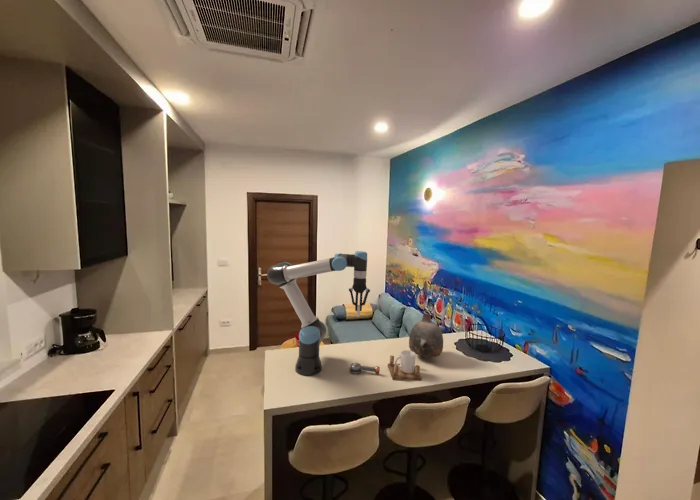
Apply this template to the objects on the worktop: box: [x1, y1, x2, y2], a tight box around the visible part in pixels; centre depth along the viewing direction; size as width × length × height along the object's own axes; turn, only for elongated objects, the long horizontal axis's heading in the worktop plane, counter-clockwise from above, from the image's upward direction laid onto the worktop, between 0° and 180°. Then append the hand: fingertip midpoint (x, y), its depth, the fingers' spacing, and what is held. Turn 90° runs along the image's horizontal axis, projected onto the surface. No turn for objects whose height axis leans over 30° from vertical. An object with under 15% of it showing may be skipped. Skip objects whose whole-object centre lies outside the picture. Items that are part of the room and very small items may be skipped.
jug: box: [408, 311, 444, 358], centre depth 197 cm, size 24×21×30 cm
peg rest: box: [387, 354, 422, 381], centre depth 176 cm, size 16×16×7 cm
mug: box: [394, 349, 416, 373], centre depth 176 cm, size 12×8×10 cm
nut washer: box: [349, 368, 363, 375], centre depth 175 cm, size 7×7×1 cm
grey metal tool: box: [349, 362, 381, 374], centre depth 174 cm, size 6×17×4 cm, turn 80°
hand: (358, 316), depth 183 cm, fingers closed
